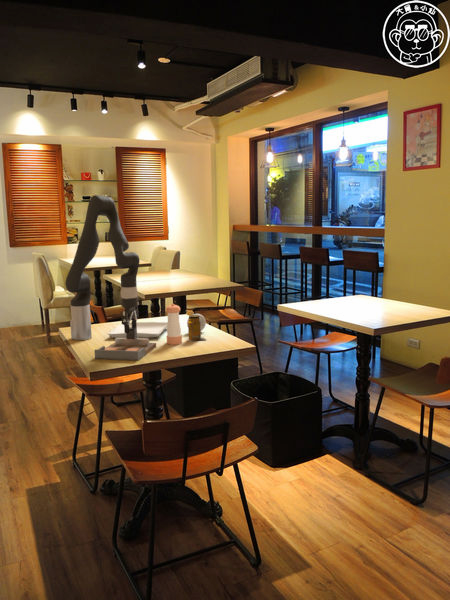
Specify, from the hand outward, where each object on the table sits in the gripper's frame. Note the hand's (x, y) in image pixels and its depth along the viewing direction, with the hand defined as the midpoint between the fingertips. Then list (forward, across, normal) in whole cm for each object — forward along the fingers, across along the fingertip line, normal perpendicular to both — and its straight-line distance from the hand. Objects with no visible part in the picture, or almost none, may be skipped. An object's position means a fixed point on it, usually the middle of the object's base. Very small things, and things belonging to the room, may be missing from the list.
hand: (130, 330), depth 242 cm
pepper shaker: (+9, -14, +16) cm, 23 cm away
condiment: (+9, -22, +25) cm, 35 cm away
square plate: (+10, -31, -8) cm, 33 cm away
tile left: (+8, +12, -5) cm, 15 cm away
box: (+9, +14, 0) cm, 16 cm away
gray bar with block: (+7, 0, 0) cm, 7 cm away
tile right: (+8, +12, +5) cm, 16 cm away
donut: (+9, -37, +21) cm, 44 cm away
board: (+9, +2, 0) cm, 9 cm away
